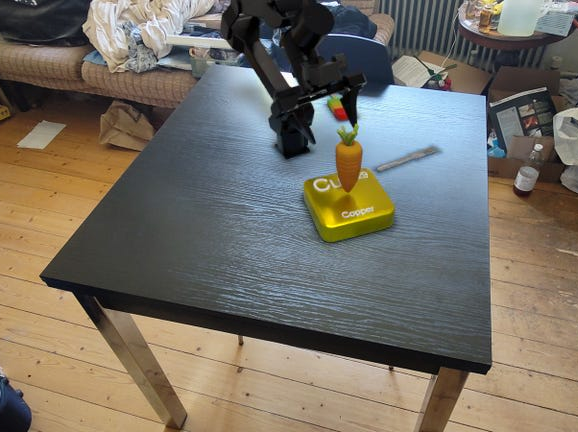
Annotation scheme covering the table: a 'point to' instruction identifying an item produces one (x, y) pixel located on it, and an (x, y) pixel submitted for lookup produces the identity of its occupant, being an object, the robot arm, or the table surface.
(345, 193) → the element tile
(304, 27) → the robot arm
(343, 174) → the carrot
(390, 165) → the thin grey rod
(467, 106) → the table surface
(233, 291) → the table surface
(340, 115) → the popsicle
